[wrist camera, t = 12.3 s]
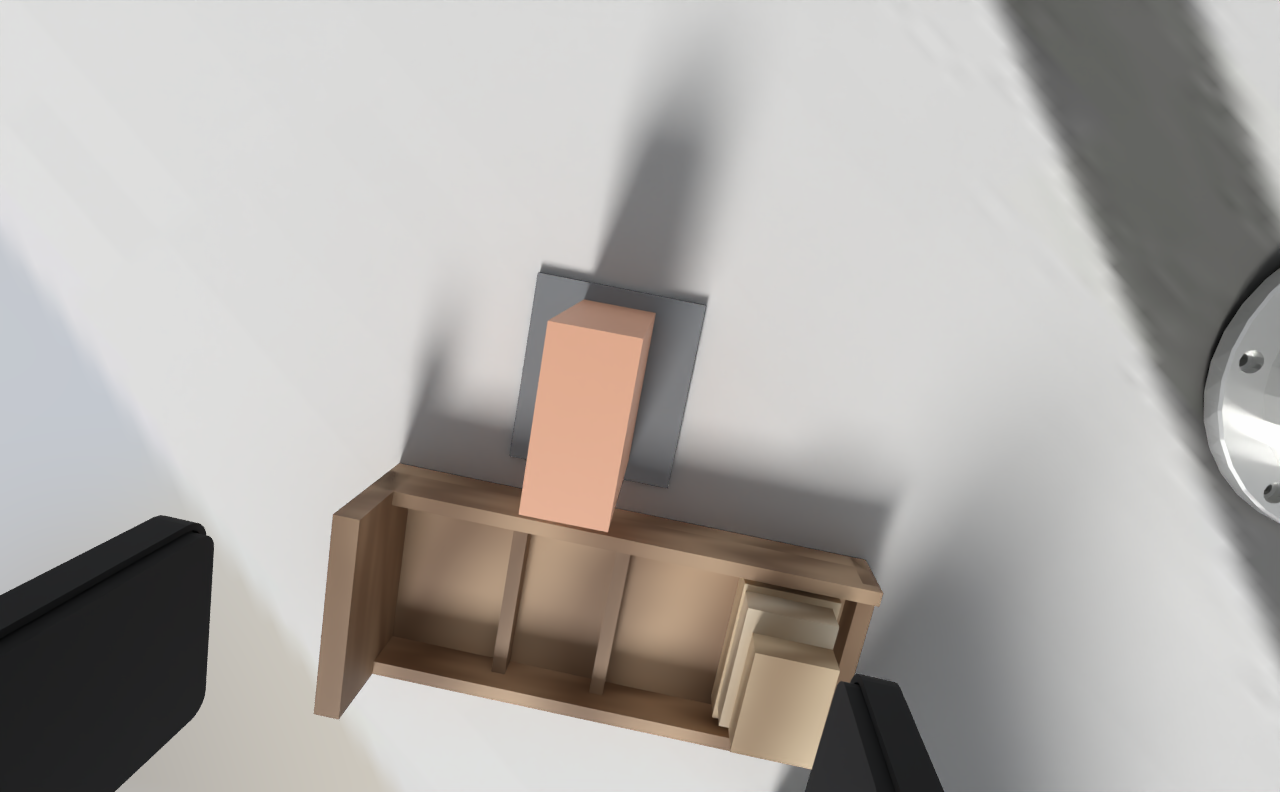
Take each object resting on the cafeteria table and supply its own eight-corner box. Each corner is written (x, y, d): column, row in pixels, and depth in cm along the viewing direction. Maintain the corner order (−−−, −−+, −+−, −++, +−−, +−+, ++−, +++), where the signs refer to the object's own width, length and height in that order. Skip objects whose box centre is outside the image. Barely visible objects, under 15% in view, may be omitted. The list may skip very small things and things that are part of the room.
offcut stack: (834, 586, 31) (856, 641, 26) (798, 713, 32) (814, 786, 28) (742, 566, 31) (750, 619, 26) (711, 695, 32) (713, 764, 28)
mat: (705, 305, 29) (706, 306, 29) (667, 485, 31) (667, 488, 31) (539, 272, 30) (537, 272, 29) (511, 453, 31) (509, 455, 31)
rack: (865, 559, 31) (905, 634, 25) (818, 725, 33) (844, 829, 27) (399, 463, 32) (332, 514, 26) (379, 631, 34) (313, 713, 28)
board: (655, 312, 29) (643, 338, 22) (628, 461, 31) (607, 532, 23) (584, 299, 29) (547, 320, 22) (559, 448, 31) (518, 514, 24)
